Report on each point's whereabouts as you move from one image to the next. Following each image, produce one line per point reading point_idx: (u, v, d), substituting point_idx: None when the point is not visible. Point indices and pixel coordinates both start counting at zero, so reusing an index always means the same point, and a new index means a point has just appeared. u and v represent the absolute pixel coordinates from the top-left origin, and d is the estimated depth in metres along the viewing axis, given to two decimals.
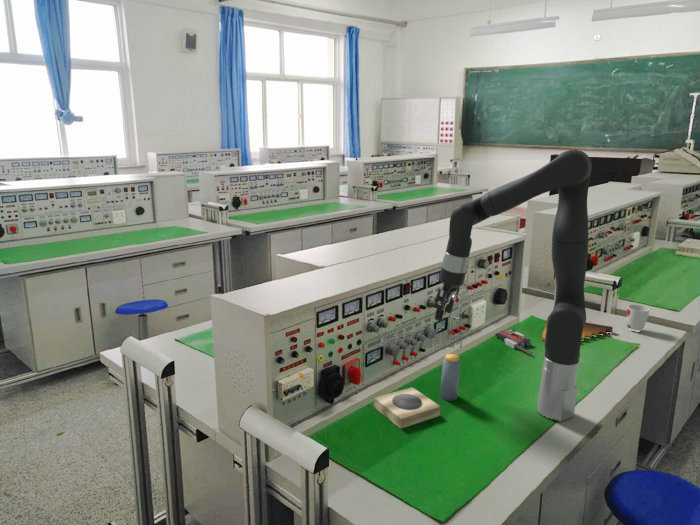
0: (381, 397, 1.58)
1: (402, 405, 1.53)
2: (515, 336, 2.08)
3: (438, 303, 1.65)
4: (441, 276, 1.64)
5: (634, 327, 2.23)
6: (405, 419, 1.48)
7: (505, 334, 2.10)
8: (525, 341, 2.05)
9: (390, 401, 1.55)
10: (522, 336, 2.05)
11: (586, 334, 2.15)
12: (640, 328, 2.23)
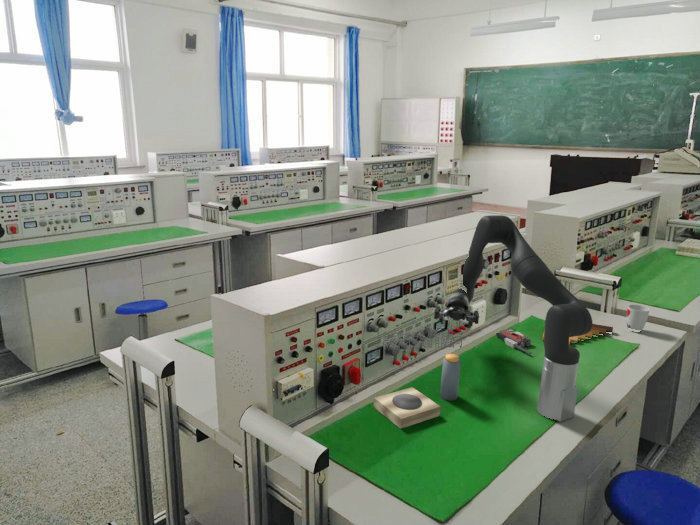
0: (381, 397, 1.58)
1: (402, 405, 1.53)
2: (515, 336, 2.08)
3: None
4: None
5: (634, 327, 2.23)
6: (405, 419, 1.48)
7: (505, 334, 2.10)
8: (525, 341, 2.05)
9: (390, 401, 1.55)
10: (522, 336, 2.06)
11: (586, 334, 2.15)
12: (640, 328, 2.23)
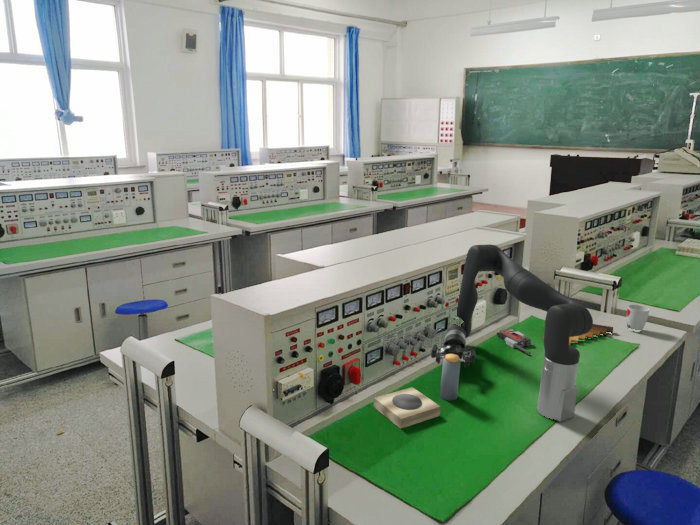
0: (381, 397, 1.58)
1: (402, 405, 1.53)
2: (516, 336, 2.08)
3: None
4: None
5: (634, 327, 2.23)
6: (405, 419, 1.48)
7: (506, 333, 2.11)
8: (525, 341, 2.05)
9: (390, 401, 1.55)
10: (522, 336, 2.06)
11: (587, 334, 2.15)
12: (640, 328, 2.23)
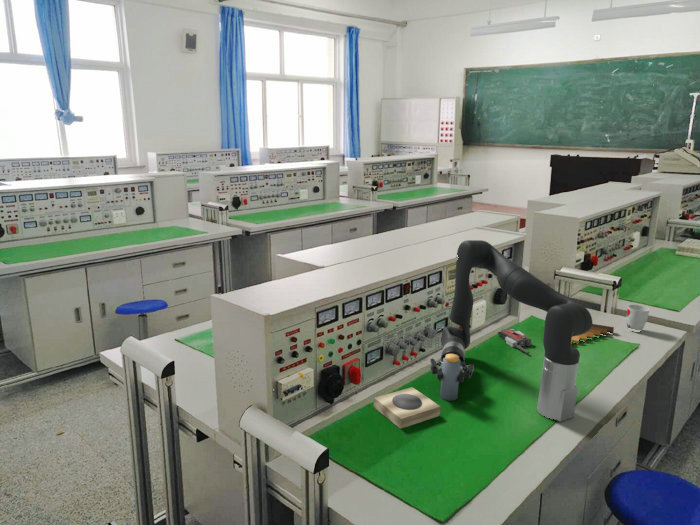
0: (381, 397, 1.58)
1: (402, 405, 1.53)
2: (516, 335, 2.09)
3: None
4: None
5: (634, 327, 2.23)
6: (405, 419, 1.48)
7: (507, 333, 2.11)
8: (525, 340, 2.05)
9: (390, 401, 1.55)
10: (522, 335, 2.06)
11: (588, 335, 2.14)
12: (640, 328, 2.23)
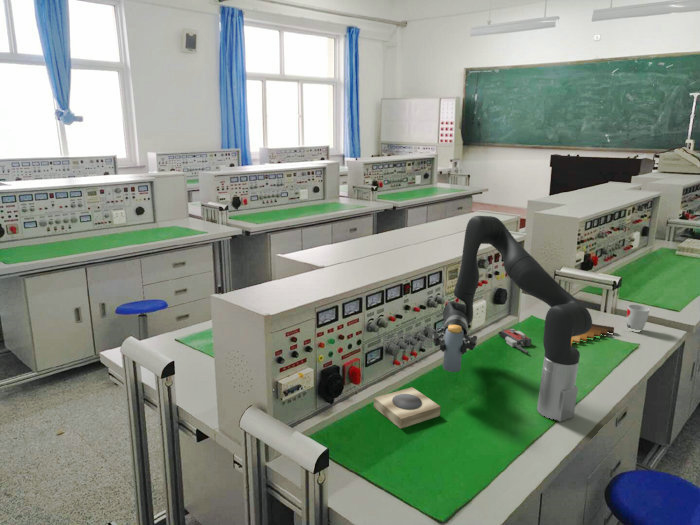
0: (381, 397, 1.58)
1: (402, 405, 1.53)
2: (516, 335, 2.09)
3: None
4: None
5: (634, 327, 2.23)
6: (405, 419, 1.48)
7: (507, 332, 2.12)
8: (525, 340, 2.06)
9: (390, 401, 1.55)
10: (522, 335, 2.06)
11: (588, 335, 2.14)
12: (640, 328, 2.23)
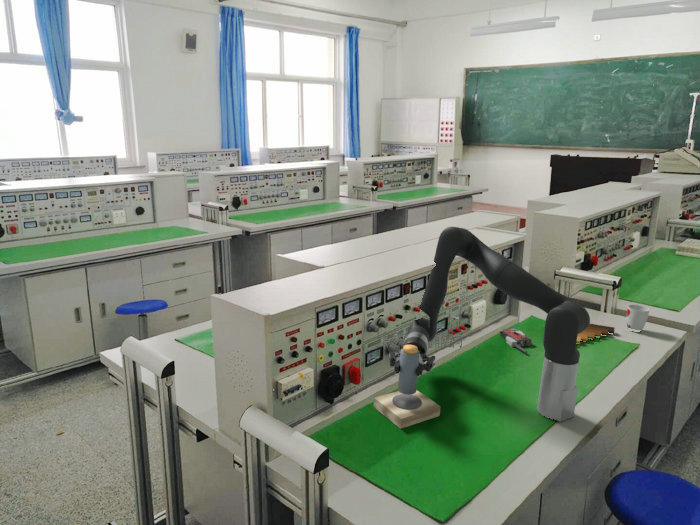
0: (381, 397, 1.58)
1: (402, 405, 1.53)
2: (517, 335, 2.09)
3: None
4: None
5: (634, 327, 2.23)
6: (405, 419, 1.48)
7: (508, 332, 2.12)
8: (525, 340, 2.06)
9: (390, 401, 1.55)
10: (522, 335, 2.06)
11: (589, 335, 2.14)
12: (640, 328, 2.23)
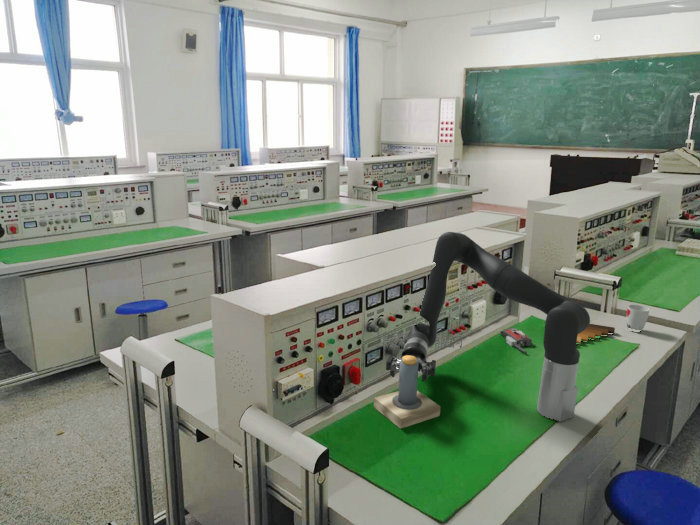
0: (381, 397, 1.58)
1: (402, 405, 1.53)
2: (517, 335, 2.09)
3: None
4: None
5: (634, 327, 2.23)
6: (405, 419, 1.48)
7: (508, 332, 2.12)
8: (525, 340, 2.06)
9: (390, 401, 1.55)
10: (523, 335, 2.07)
11: (589, 335, 2.14)
12: (640, 328, 2.23)
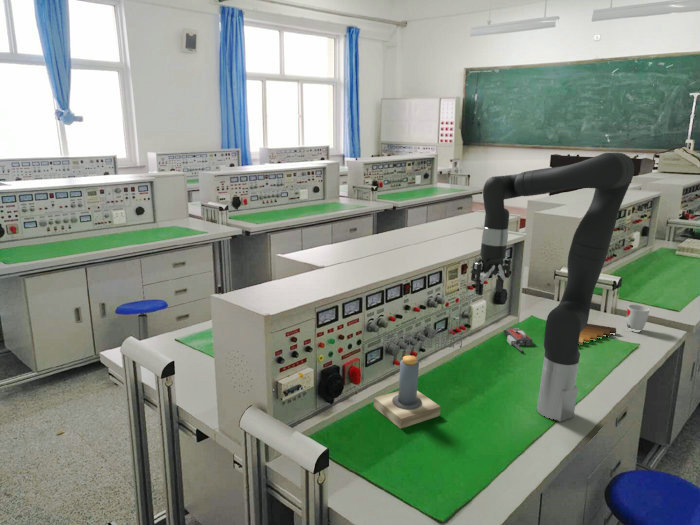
0: (381, 397, 1.58)
1: (402, 405, 1.53)
2: (518, 334, 2.10)
3: None
4: None
5: (634, 327, 2.23)
6: (405, 419, 1.48)
7: (510, 331, 2.13)
8: (525, 340, 2.06)
9: (390, 401, 1.55)
10: (523, 335, 2.07)
11: (591, 336, 2.13)
12: (640, 328, 2.23)
